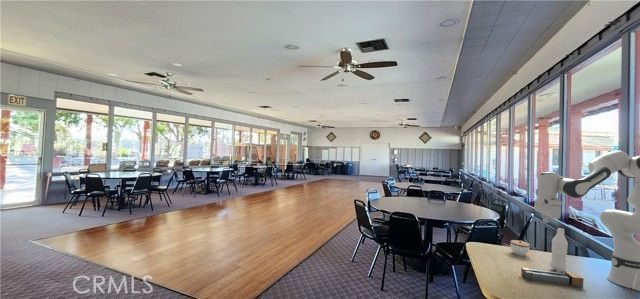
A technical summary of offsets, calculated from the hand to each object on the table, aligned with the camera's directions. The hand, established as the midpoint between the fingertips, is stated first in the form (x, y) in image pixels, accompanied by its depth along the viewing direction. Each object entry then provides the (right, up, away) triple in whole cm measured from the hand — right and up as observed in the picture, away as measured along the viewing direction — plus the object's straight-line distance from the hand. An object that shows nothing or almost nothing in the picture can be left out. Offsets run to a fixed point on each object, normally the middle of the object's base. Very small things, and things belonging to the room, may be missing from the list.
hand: (545, 222), depth 169 cm
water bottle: (+6, -29, -1) cm, 29 cm away
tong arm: (-11, -28, -13) cm, 32 cm away
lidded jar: (0, -28, +23) cm, 36 cm away
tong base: (-9, -28, -14) cm, 33 cm away
